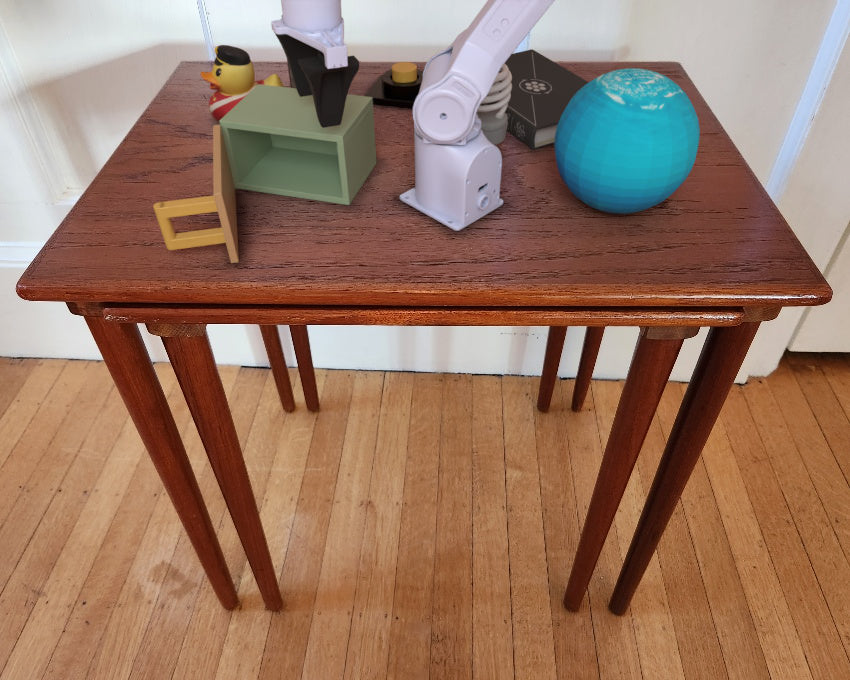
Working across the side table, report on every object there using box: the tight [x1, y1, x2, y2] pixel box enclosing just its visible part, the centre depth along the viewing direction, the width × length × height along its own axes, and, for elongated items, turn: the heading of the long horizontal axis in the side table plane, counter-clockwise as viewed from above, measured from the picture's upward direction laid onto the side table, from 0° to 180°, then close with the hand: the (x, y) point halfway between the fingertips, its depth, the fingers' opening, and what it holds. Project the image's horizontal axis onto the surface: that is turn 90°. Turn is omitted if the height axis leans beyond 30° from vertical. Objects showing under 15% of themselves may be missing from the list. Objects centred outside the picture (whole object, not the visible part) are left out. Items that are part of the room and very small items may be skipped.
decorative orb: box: [553, 67, 701, 215], centre depth 73 cm, size 15×15×15 cm
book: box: [480, 49, 590, 150], centre depth 96 cm, size 22×15×3 cm
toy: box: [200, 44, 285, 124], centre depth 91 cm, size 9×11×10 cm
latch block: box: [364, 68, 424, 110], centre depth 99 cm, size 10×8×3 cm
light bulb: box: [477, 63, 512, 146], centre depth 83 cm, size 6×6×12 cm
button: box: [391, 61, 418, 83], centre depth 97 cm, size 4×4×2 cm
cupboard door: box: [152, 124, 240, 264], centre depth 72 cm, size 7×15×8 cm, turn 13°
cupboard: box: [218, 84, 378, 206], centre depth 80 cm, size 10×15×9 cm
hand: (319, 109), depth 73 cm, fingers open, 7 cm apart
